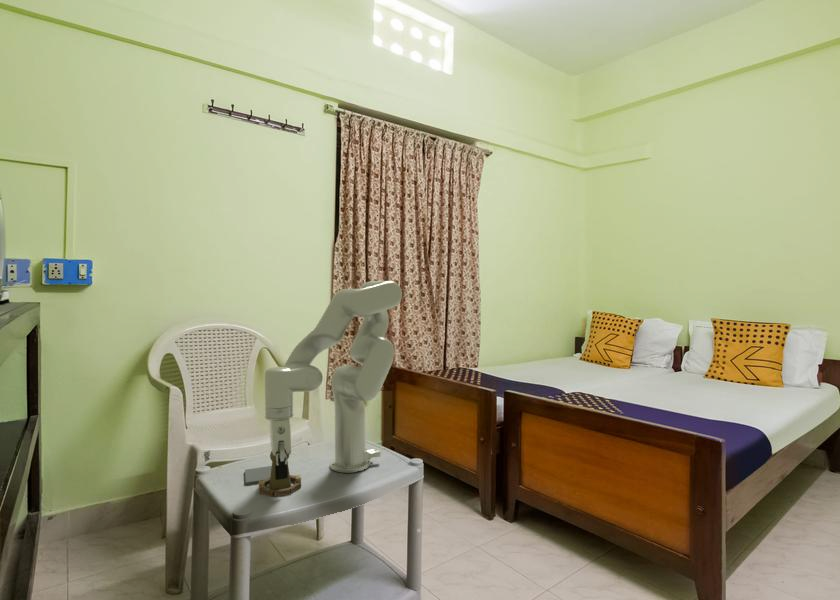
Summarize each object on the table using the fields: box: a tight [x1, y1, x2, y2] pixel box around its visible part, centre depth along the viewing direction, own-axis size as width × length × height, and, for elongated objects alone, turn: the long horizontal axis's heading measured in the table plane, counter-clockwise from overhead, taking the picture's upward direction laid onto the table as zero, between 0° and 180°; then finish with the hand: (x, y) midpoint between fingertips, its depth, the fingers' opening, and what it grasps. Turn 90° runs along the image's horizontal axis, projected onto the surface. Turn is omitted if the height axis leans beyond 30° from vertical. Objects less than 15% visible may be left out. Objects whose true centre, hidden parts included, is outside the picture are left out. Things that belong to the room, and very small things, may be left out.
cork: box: [268, 450, 292, 490], centre depth 129 cm, size 6×6×11 cm
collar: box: [258, 474, 302, 498], centre depth 129 cm, size 11×11×2 cm
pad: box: [244, 465, 272, 486], centre depth 137 cm, size 10×10×1 cm
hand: (279, 472), depth 129 cm, fingers open, 9 cm apart
